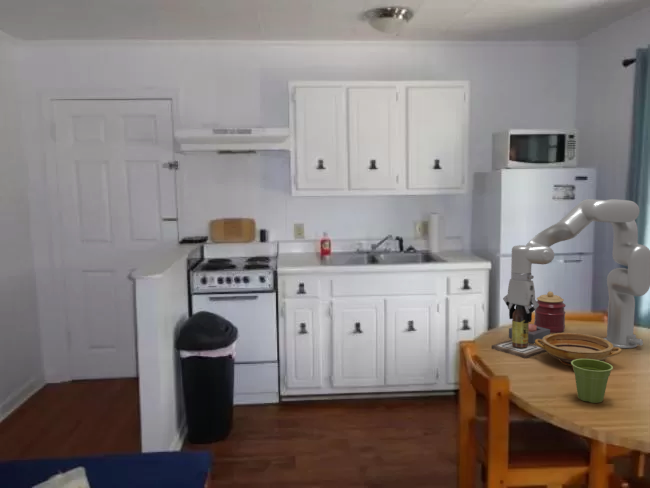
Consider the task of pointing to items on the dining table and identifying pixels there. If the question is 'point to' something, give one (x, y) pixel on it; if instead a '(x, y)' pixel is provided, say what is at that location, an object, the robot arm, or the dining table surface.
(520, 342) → the sauce bottle
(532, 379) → the dining table surface
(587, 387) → the plant pot
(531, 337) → the button housing
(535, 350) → the pad
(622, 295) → the robot arm
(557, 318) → the canister
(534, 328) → the button
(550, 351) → the ceramic bowl
